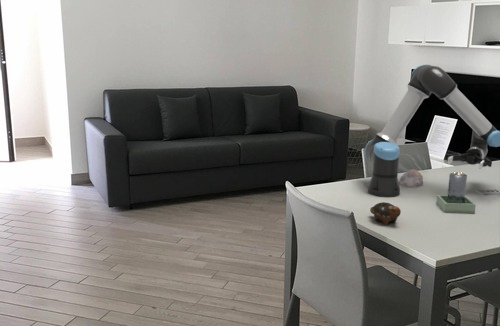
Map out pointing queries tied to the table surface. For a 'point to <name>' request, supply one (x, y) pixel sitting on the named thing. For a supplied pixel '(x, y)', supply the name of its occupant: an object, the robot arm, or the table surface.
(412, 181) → the stone
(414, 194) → the table surface
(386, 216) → the decorative turtle
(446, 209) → the bin
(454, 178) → the can
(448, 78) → the robot arm
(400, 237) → the table surface
